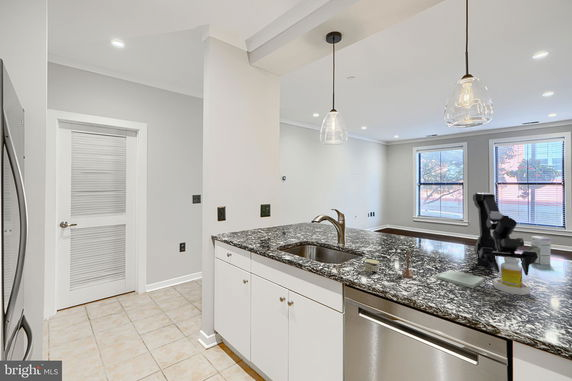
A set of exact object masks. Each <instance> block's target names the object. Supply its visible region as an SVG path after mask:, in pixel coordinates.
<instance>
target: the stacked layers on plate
mask: <svg viewBox="0 0 572 381" xmlns="http://www.w3.org/2000/svg"><path fill="white" fill-rule="evenodd" d="M364 261H365V262H364V263H363V264H364V267H363V268H364V271H365V272H368V273H373V272H375V273H379V270H380V267H379V266H380V260H377V259H370V258H367V259H365V260H364Z"/></svg>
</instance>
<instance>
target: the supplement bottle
mask: <svg viewBox="0 0 572 381" xmlns="http://www.w3.org/2000/svg"><path fill="white" fill-rule="evenodd" d="M503 258H504V259H503V260H504V262H502V263H501V264H500V278H501V284H504V285H507V286H511V287H519V288H522V283H523V268H522V265H520V259H519V258H514V257H503Z"/></svg>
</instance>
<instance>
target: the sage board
mask: <svg viewBox="0 0 572 381" xmlns="http://www.w3.org/2000/svg"><path fill="white" fill-rule="evenodd" d="M436 279H438V280H441V281H445V282H448V283H452V284H456V285H459V286H464V287H467V288H471V289H474V288H476V287H477V286H479V285H481V284H482V283H483V282H484V281H485V278H484V277H481V276H477V275H473V274H468V273H465V272H460V271H457V270H451V269H447V270H446V271H444V272H442V273H440V274H438V275H436Z"/></svg>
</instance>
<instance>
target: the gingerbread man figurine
mask: <svg viewBox="0 0 572 381" xmlns="http://www.w3.org/2000/svg"><path fill="white" fill-rule="evenodd" d="M402 275H403V278H404V279H410V280H411V279H414V276H413V271H412V270H410V250H409V249H407V250H406V269H403V270H402Z"/></svg>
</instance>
